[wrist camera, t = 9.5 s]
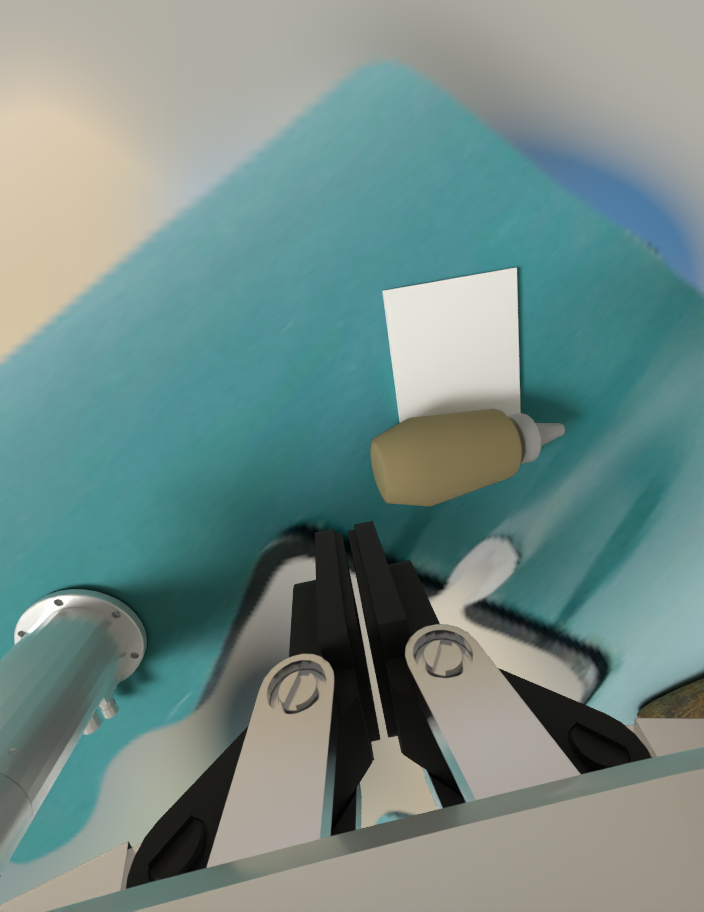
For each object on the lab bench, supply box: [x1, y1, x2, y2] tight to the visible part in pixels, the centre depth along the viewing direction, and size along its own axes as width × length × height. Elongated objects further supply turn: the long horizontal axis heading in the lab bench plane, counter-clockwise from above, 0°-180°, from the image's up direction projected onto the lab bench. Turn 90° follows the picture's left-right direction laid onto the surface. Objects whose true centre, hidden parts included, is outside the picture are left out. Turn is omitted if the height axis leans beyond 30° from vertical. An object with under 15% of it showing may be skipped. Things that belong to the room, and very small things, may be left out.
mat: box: [383, 268, 520, 423], centre depth 36 cm, size 18×12×1 cm, turn 10°
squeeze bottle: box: [370, 409, 565, 506], centre depth 34 cm, size 8×8×18 cm
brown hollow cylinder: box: [637, 678, 704, 719], centre depth 50 cm, size 15×7×7 cm, turn 122°
